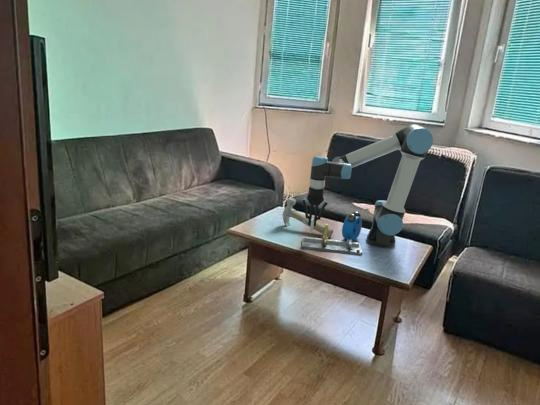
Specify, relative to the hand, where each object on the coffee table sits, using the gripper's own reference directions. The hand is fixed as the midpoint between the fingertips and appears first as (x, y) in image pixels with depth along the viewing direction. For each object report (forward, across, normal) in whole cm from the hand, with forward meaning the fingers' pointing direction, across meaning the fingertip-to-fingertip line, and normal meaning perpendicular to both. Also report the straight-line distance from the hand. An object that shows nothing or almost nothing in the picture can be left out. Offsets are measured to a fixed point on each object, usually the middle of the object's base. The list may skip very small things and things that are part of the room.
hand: (311, 231), depth 227 cm
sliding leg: (+5, -7, +2) cm, 9 cm away
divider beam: (+5, -11, +2) cm, 12 cm away
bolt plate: (+6, -11, +3) cm, 13 cm away
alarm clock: (+6, -22, -12) cm, 26 cm away
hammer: (+7, +2, -18) cm, 20 cm away
